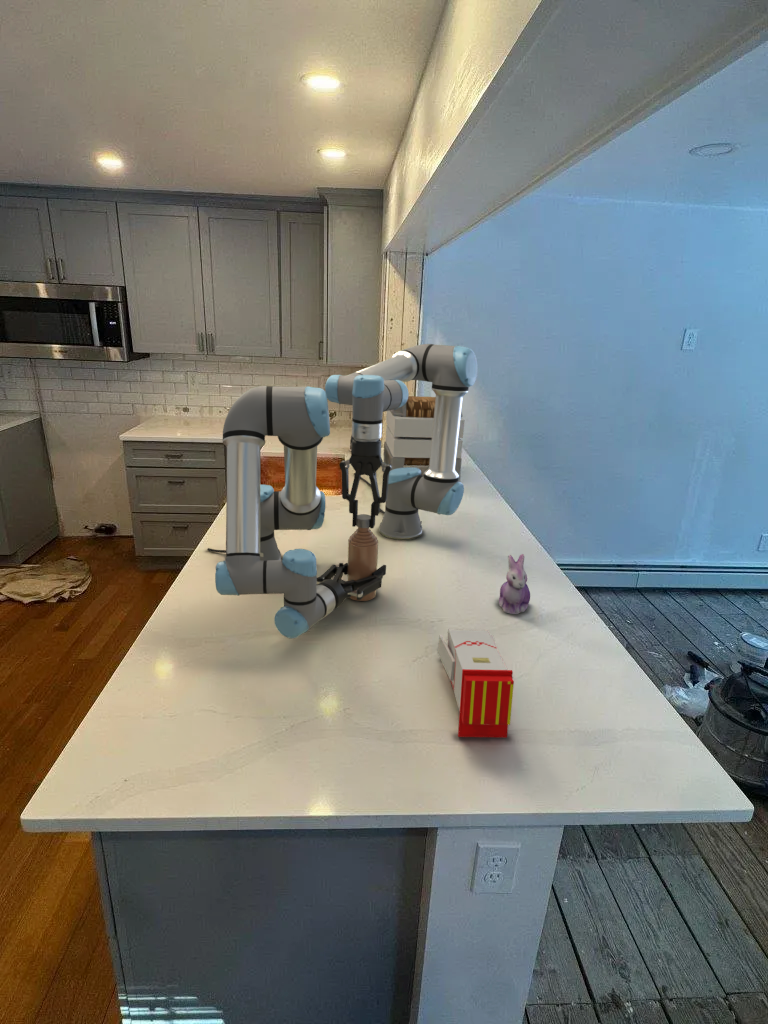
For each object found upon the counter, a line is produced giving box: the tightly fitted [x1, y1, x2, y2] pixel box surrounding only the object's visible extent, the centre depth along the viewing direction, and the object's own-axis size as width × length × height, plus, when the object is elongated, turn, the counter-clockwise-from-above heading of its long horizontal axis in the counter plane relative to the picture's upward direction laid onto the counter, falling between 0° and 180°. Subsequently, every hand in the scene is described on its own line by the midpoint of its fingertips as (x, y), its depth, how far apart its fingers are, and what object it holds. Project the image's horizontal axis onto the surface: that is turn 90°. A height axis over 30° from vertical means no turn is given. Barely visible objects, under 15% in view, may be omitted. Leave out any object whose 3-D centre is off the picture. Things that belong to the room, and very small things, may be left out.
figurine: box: [498, 553, 531, 615], centre depth 151 cm, size 9×10×15 cm
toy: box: [437, 628, 515, 738], centre depth 117 cm, size 12×13×30 cm
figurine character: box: [349, 434, 353, 450], centre depth 311 cm, size 7×8×15 cm
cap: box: [355, 513, 371, 529], centre depth 150 cm, size 4×4×2 cm
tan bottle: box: [346, 527, 379, 602], centre depth 153 cm, size 8×8×22 cm
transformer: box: [383, 395, 465, 482], centre depth 268 cm, size 34×33×41 cm
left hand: (371, 565), depth 159 cm, fingers closed on tan bottle, 8 cm apart
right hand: (363, 525), depth 150 cm, fingers closed on cap, 4 cm apart
